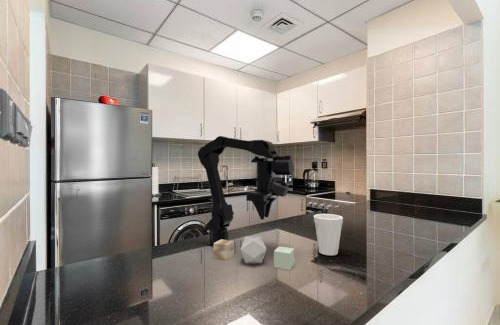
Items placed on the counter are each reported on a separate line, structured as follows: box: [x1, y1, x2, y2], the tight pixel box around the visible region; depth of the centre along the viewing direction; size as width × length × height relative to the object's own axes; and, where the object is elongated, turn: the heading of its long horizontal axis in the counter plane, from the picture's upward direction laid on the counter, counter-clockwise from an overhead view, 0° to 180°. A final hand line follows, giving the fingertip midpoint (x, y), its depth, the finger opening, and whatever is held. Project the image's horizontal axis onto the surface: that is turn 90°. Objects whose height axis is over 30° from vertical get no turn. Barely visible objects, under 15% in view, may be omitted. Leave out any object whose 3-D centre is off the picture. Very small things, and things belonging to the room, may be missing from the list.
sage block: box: [273, 246, 295, 271], centre depth 75 cm, size 5×5×5 cm
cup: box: [313, 213, 344, 256], centre depth 86 cm, size 10×10×13 cm
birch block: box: [213, 239, 235, 261], centre depth 83 cm, size 5×5×5 cm
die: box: [240, 236, 267, 265], centre depth 79 cm, size 8×9×10 cm
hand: (264, 218), depth 88 cm, fingers open, 4 cm apart
